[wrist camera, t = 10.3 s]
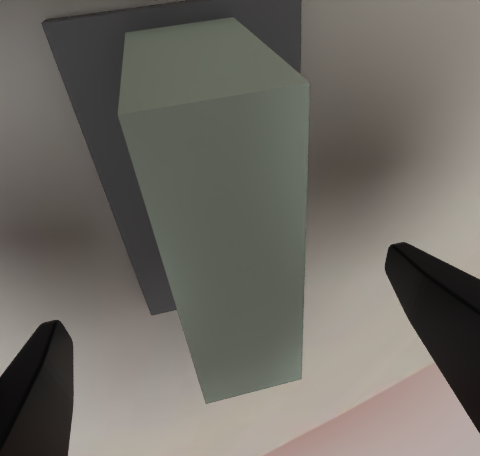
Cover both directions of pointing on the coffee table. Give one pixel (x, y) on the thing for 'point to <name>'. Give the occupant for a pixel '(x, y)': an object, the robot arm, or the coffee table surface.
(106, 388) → the coffee table surface
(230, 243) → the sage rectangular block
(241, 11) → the dark gray panel
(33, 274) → the coffee table surface
